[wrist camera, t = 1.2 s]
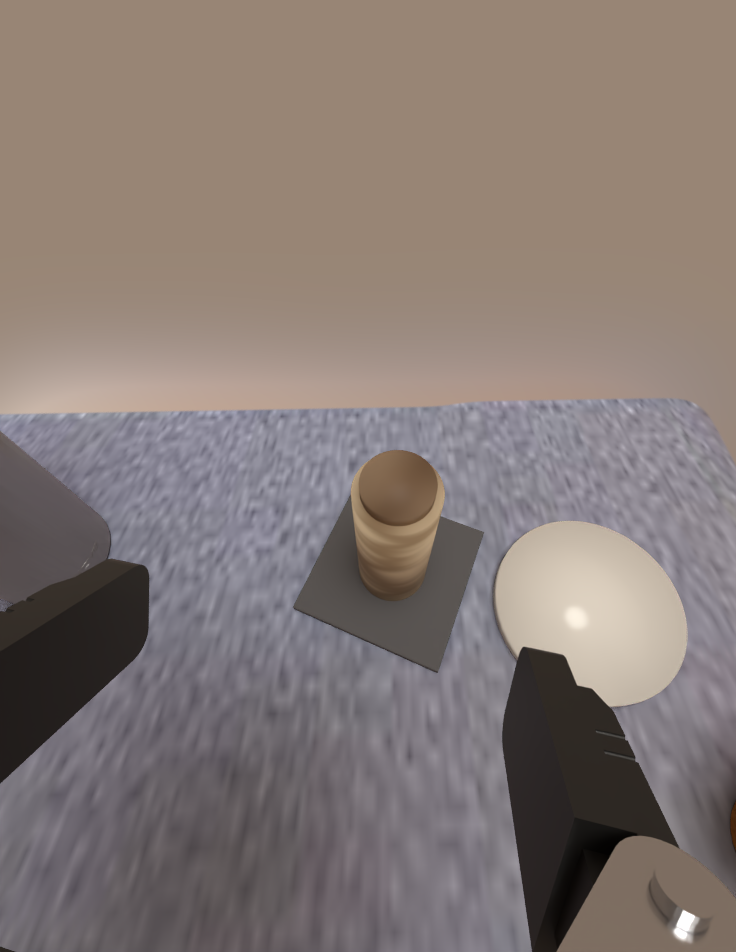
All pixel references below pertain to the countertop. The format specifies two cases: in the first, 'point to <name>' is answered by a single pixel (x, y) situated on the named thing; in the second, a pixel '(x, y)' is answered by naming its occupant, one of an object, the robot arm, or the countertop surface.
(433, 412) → the countertop surface
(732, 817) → the disposable coffee cup
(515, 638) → the plate
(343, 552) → the mat
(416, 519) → the pepper mill
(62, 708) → the robot arm
